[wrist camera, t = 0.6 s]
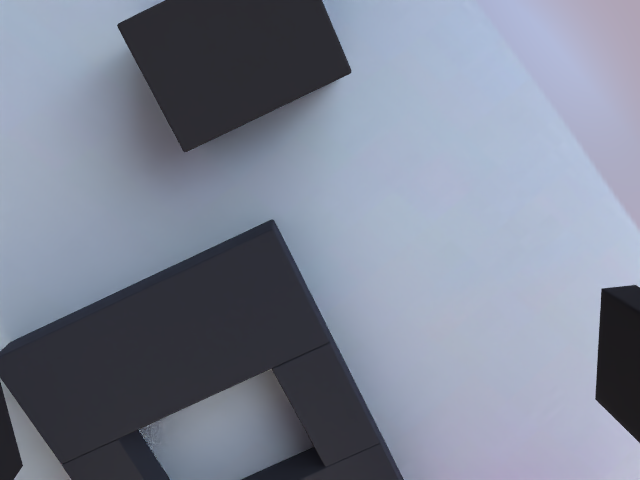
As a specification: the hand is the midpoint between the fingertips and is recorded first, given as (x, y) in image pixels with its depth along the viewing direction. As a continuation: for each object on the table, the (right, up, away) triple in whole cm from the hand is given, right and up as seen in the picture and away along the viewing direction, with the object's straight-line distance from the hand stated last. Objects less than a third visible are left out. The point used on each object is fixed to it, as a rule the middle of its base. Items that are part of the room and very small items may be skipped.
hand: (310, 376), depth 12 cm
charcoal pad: (-5, -7, +16) cm, 18 cm away
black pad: (-3, +11, +12) cm, 16 cm away
